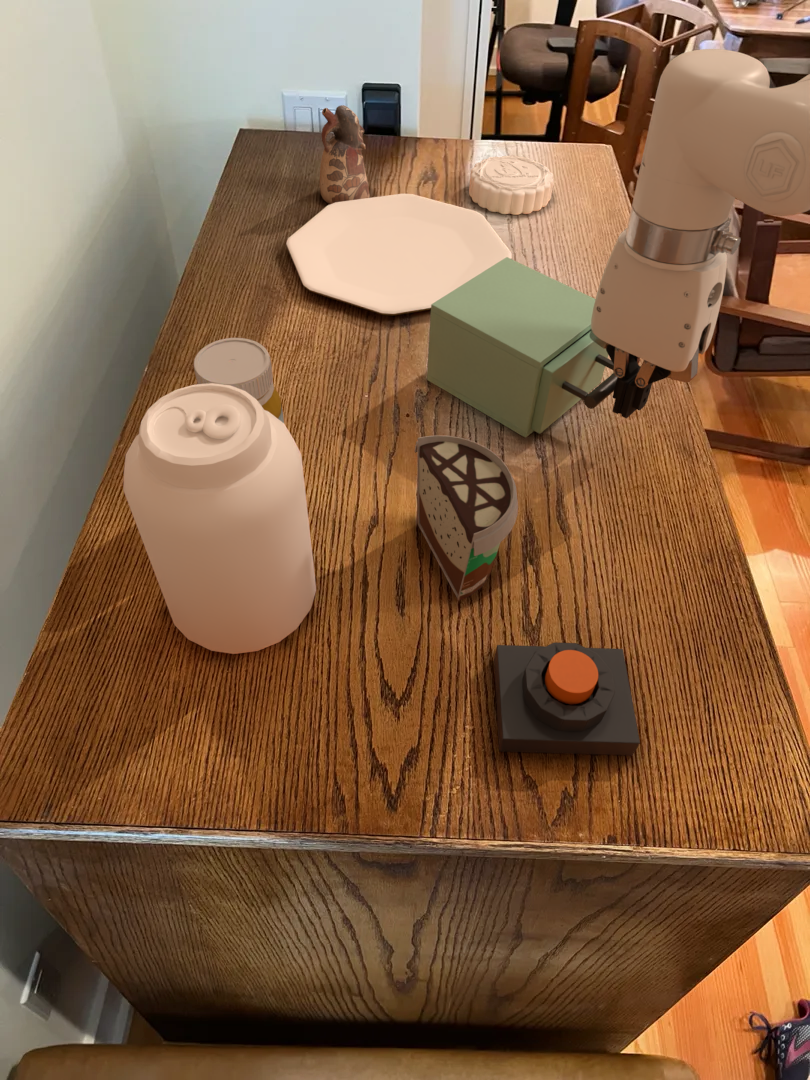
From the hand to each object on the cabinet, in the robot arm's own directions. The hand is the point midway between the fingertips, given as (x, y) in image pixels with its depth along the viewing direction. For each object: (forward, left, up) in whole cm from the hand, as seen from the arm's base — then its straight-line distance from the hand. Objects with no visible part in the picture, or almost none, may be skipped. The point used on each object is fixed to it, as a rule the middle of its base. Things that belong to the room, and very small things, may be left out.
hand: (627, 408), depth 76 cm
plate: (+40, -10, -5) cm, 41 cm away
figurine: (+57, -17, -5) cm, 60 cm away
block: (-13, +29, -4) cm, 32 cm away
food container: (+2, +22, -5) cm, 23 cm away
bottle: (+22, +30, -5) cm, 37 cm away
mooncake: (+40, -34, -5) cm, 53 cm away
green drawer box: (+14, 0, -4) cm, 14 cm away
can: (+13, +39, -5) cm, 41 cm away
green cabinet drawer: (+10, 0, -3) cm, 11 cm away
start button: (-13, +29, -1) cm, 32 cm away
